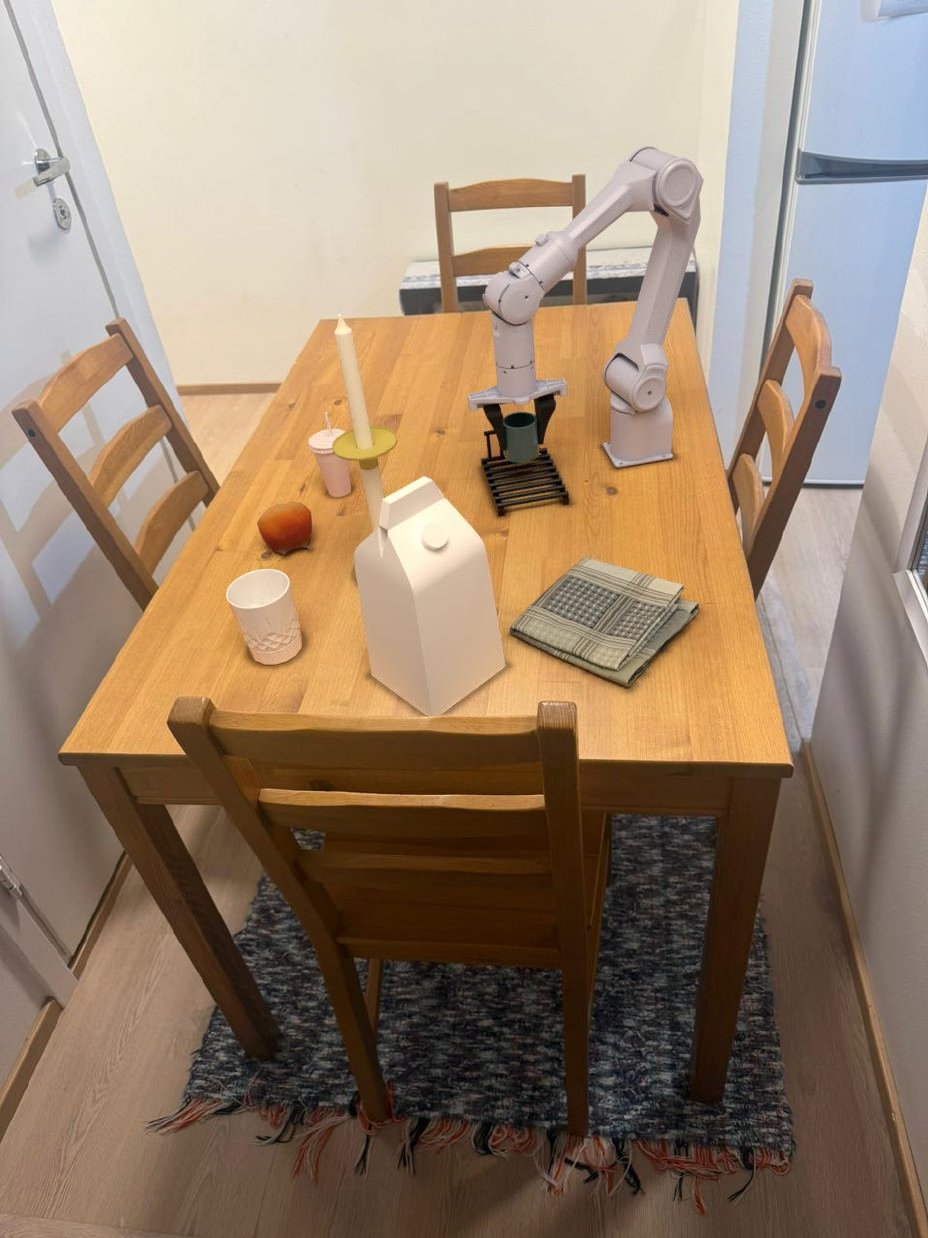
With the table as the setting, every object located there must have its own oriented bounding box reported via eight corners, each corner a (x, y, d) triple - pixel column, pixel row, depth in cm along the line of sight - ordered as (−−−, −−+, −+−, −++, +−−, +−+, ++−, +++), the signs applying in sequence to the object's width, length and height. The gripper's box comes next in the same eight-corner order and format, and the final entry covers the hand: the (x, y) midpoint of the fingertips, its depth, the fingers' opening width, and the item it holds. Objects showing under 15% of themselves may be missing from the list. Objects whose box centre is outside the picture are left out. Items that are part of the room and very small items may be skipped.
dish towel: (504, 636, 111) (503, 617, 109) (583, 565, 121) (583, 546, 119) (631, 694, 101) (632, 674, 99) (706, 611, 111) (708, 591, 109)
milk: (443, 627, 114) (415, 449, 98) (505, 666, 107) (487, 482, 91) (371, 675, 108) (329, 496, 92) (432, 720, 101) (398, 535, 85)
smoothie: (352, 502, 140) (335, 422, 131) (315, 501, 142) (295, 422, 133) (364, 480, 145) (348, 403, 136) (327, 480, 147) (309, 403, 138)
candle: (435, 554, 127) (396, 295, 103) (404, 596, 120) (354, 329, 96) (375, 544, 131) (324, 291, 107) (341, 583, 124) (279, 323, 100)
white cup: (250, 632, 118) (230, 573, 111) (308, 624, 117) (291, 564, 111) (244, 672, 111) (222, 612, 105) (305, 664, 111) (287, 603, 105)
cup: (534, 443, 137) (532, 409, 134) (542, 459, 133) (540, 424, 130) (501, 448, 137) (498, 415, 133) (508, 465, 133) (505, 430, 129)
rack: (546, 456, 145) (545, 419, 141) (569, 504, 133) (568, 465, 129) (481, 468, 144) (477, 431, 140) (498, 516, 133) (494, 477, 129)
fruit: (276, 563, 127) (255, 511, 125) (268, 563, 134) (249, 514, 133) (328, 544, 129) (308, 492, 128) (318, 545, 137) (299, 496, 135)
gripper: (469, 379, 122) (478, 465, 131) (571, 363, 123) (573, 449, 132) (462, 360, 128) (471, 443, 136) (559, 344, 128) (562, 427, 137)
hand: (520, 444), depth 134 cm, fingers closed on cup, 5 cm apart
